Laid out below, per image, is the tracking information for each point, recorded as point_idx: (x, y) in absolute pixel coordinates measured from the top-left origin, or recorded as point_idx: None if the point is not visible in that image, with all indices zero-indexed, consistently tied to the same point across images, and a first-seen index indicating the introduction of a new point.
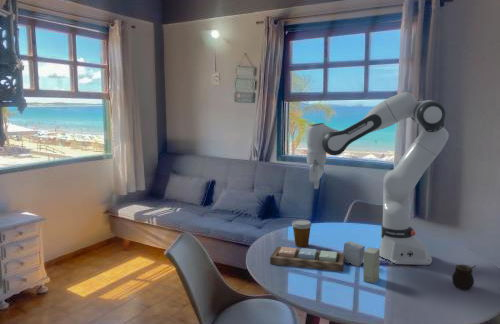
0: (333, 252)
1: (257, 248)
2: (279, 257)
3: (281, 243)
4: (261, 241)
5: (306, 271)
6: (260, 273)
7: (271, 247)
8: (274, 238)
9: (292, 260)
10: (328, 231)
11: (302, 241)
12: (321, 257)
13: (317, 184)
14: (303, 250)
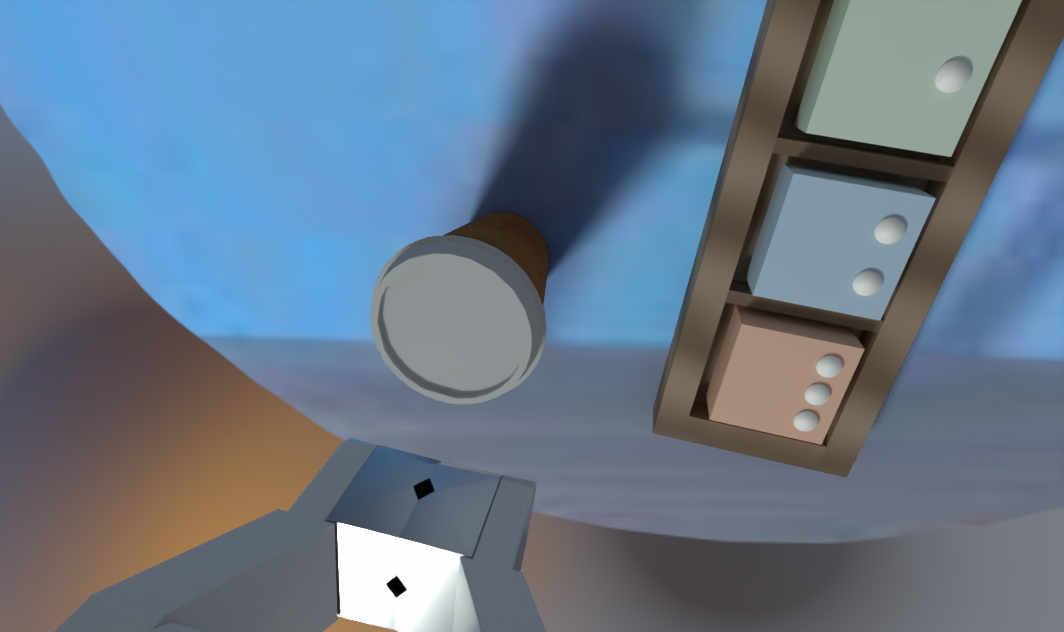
0: (866, 14)
1: (585, 504)
2: (856, 426)
3: None
4: None
5: (1004, 239)
6: (980, 499)
7: (562, 436)
8: (406, 416)
9: (906, 345)
10: (163, 36)
11: (546, 270)
12: (956, 134)
13: (531, 614)
14: (810, 280)
